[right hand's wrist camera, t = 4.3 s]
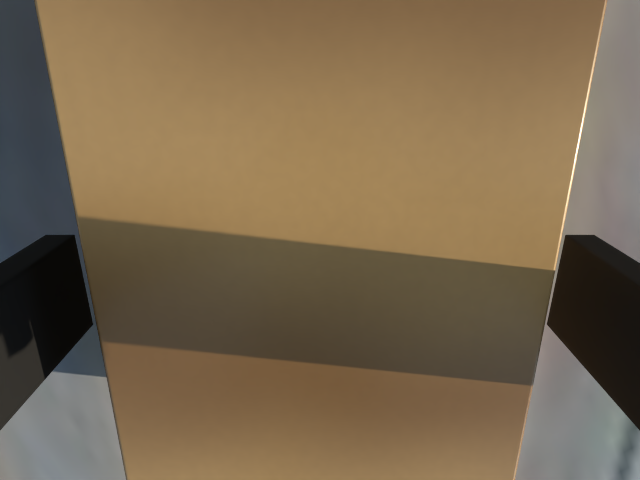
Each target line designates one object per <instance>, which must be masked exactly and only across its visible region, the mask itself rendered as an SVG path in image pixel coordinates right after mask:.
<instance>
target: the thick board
mask: <svg viewBox="0 0 640 480" xmlns="http://www.w3.org/2000/svg"><path fill="white" fill-rule="evenodd" d="M34 2H35V7H36V12H37V17H38V22H39V28H40V33H41V38H42V43H43V48H44V54H45V59H46V64H47V69H48V74H49V80H50V85H51V90H52V95H53V100H54V106H55V111H56V116H57V121H58V126H59V132H60V137H61V142H62V147H63V152H64V158H65V163H66V168H67V173H68V178H69V184H70V189H71V194H72V199H73V204H74V210H75V215H76V220H77V225H78V230H79V236H80V241H81V246H82V251H83V256H84V262H85V267H86V272H87V277H88V282H89V288H90V293H91V298H92V303H93V308H94V314H95V319H96V324H97V329H98V334H99V340H100V345H101V350H102V355H103V360H104V366H105V371H106V376H107V381H108V387H109V392H110V397H111V402H112V407H113V413H114V418H115V423H116V428H117V433H118V439H119V444H120V449H121V454H122V459H123V465H124V470H125V475H126V480H515V475H516V470H517V465H518V460H519V455H520V449H521V444H522V439H523V434H524V429H525V424H526V418H527V413H528V408H529V403H530V398H531V392H532V387H533V382H534V377H535V372H536V367H537V361H538V356H539V351H540V346H541V341H542V336H543V330H544V325H545V320H546V315H547V310H548V304H549V299H550V294H551V289H552V284H553V279H554V273H555V268H556V263H557V258H558V253H559V248H560V242H561V237H562V232H563V227H564V222H565V216H566V211H567V206H568V201H569V196H570V191H571V185H572V180H573V175H574V170H575V165H576V160H577V154H578V149H579V144H580V139H581V134H582V128H583V123H584V118H585V113H586V108H587V103H588V97H589V92H590V87H591V82H592V77H593V72H594V66H595V61H596V56H597V51H598V46H599V40H600V35H601V30H602V25H603V20H604V15H605V9H606V4H607V0H34Z"/></svg>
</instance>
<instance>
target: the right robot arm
mask: <svg viewBox="0 0 640 480" xmlns="http://www.w3.org/2000/svg"><path fill="white" fill-rule="evenodd" d="M92 325H93V322H92V317H91V312H90V307H89V303H88V298H87V293H86V288H85V283H84V278H83V274H82V269H81V264H80V259H79V254H78V249H77V245H76V240H75V235H45V236H43V237H42V238H40V239H39V240H37V241H35V242H34V243H32V244H31V245H29V246H27V247H26V248H24V249H22V250H21V251H19V252H18V253H16V254H14V255H13V256H11V257H10V258H8V259H6V260H5V261H3V262H1V263H0V430H1V429H2V428H3V427H4V425H5V424H6V423H7V422H8V421H9V420H10V419H11V417H12V416H13V415H14V414H15V413H16V412H17V411H18V409H19V408H20V407H21V406H22V405H23V404H24V403H25V402H26V400H27V399H28V398H29V397H30V396H31V395H32V394H33V392H34V391H35V390H36V389H37V388H38V387H39V386H40V384H41V383H42V382H43V381H44V380H45V379H46V378H47V376H48V375H49V374H50V373H51V372H52V371H53V370H54V368H55V367H56V366H57V365H58V364H59V363H60V362H61V360H62V359H63V358H64V357H65V356H66V355H67V354H68V352H69V351H70V350H71V349H72V348H73V347H74V346H75V344H76V343H77V342H78V341H79V340H80V339H81V338H82V336H83V335H84V334H85V333H86V332H87V331H88V330H89V328H90V327H91V326H92ZM547 325H548V326H549V327H550V328H551V330H552V331H553V332H554V333H555V334H556V335H557V336H558V338H559V339H560V340H561V341H562V342H563V343H564V344H565V346H566V347H567V348H568V349H569V350H570V351H571V352H572V354H573V355H574V356H575V357H576V358H577V359H578V360H579V362H580V363H581V364H582V365H583V366H584V367H585V368H586V370H587V371H588V372H589V373H590V374H591V375H592V376H593V378H594V379H595V380H596V381H597V382H598V383H599V384H600V386H601V387H602V388H603V389H604V390H605V391H606V392H607V394H608V395H609V396H610V397H611V398H612V399H613V400H614V402H615V403H616V404H617V405H618V406H619V407H620V408H621V410H622V411H623V412H624V413H625V414H626V415H627V416H628V417H629V419H630V420H631V421H632V422H633V423H634V424H635V425H636V427H637V428H638V429H639V430H640V263H638V262H637V261H635V260H634V259H632V258H630V257H629V256H627V255H626V254H624V253H622V252H621V251H619V250H618V249H616V248H614V247H613V246H611V245H609V244H608V243H606V242H605V241H603V240H601V239H600V238H598V237H597V236H595V235H565V240H564V245H563V249H562V254H561V259H560V264H559V269H558V274H557V278H556V283H555V288H554V293H553V298H552V302H551V307H550V312H549V317H548V322H547Z"/></svg>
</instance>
